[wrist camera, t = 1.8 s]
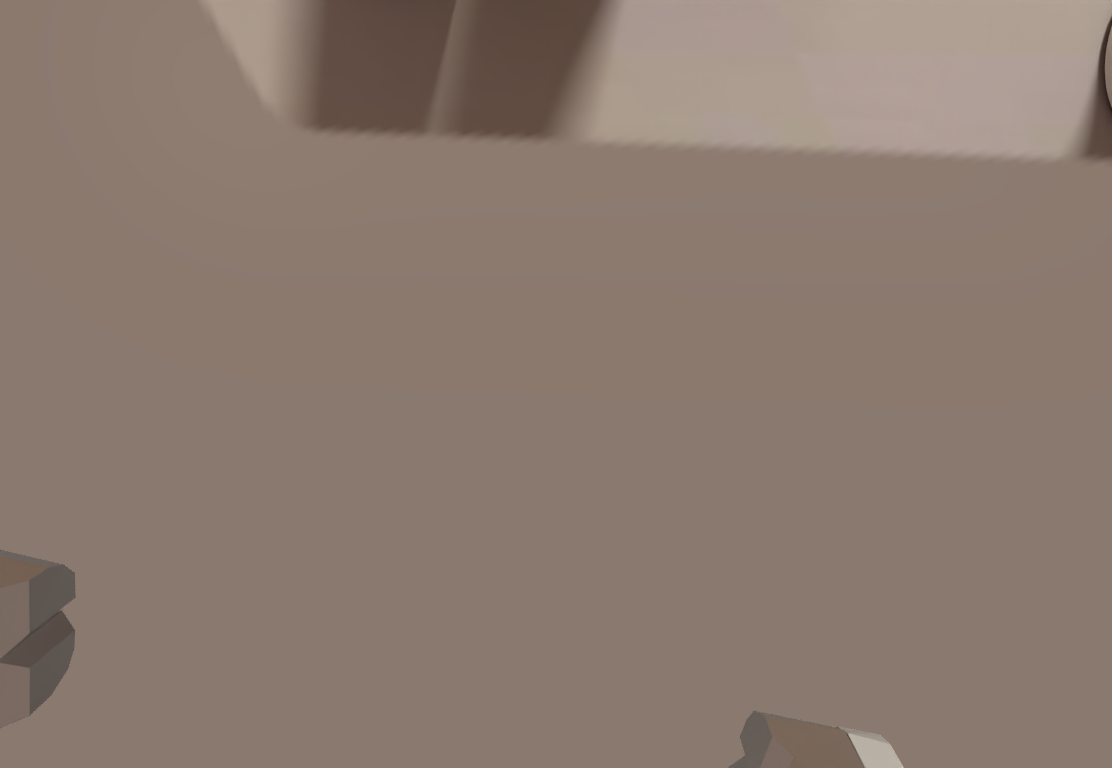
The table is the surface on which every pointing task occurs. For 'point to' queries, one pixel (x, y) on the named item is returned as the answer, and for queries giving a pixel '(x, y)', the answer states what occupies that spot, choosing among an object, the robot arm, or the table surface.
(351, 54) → the table surface
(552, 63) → the table surface
